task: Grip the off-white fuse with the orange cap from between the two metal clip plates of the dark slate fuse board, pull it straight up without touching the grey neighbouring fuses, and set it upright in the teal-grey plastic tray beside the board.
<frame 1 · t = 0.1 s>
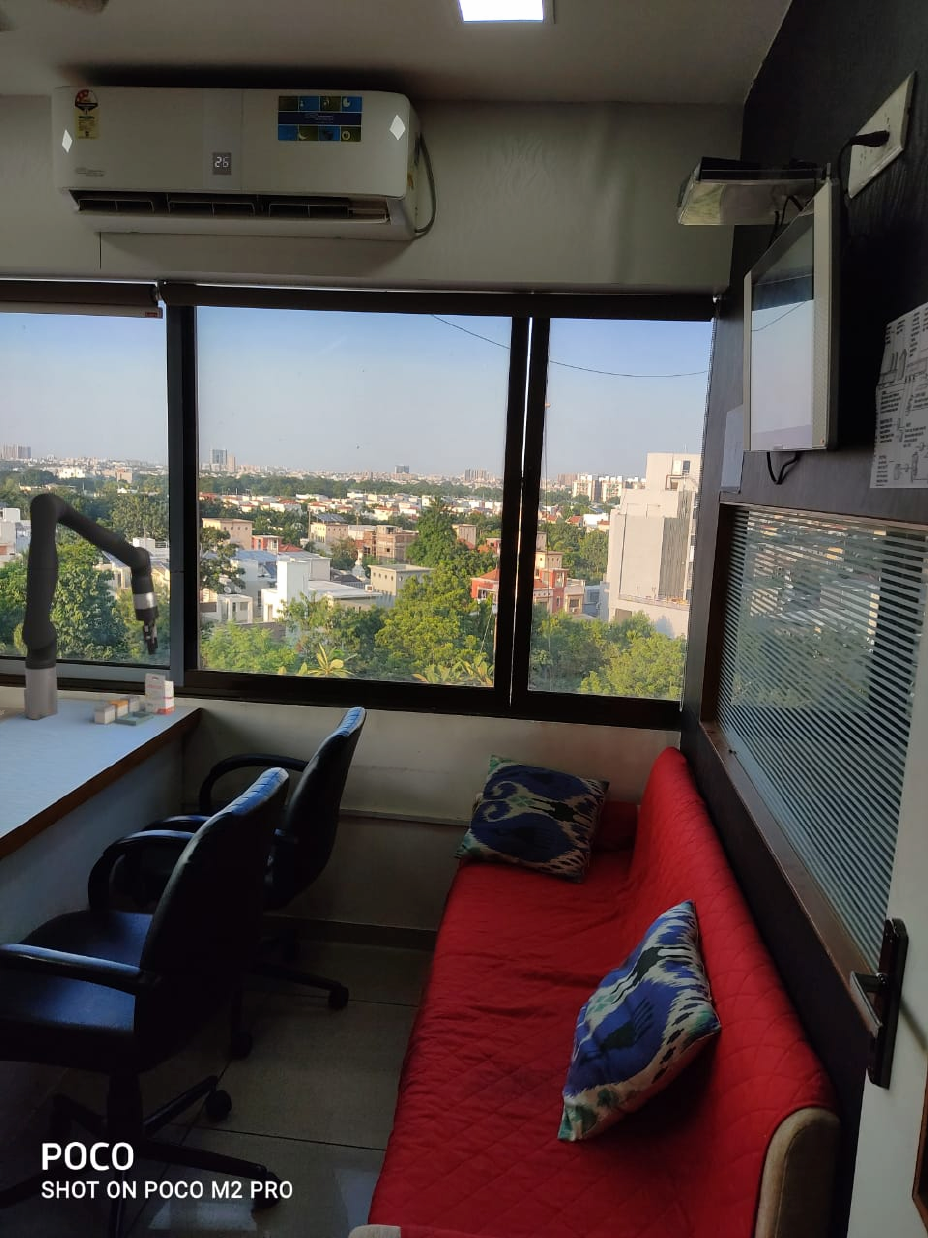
hand: (153, 651, 287), 22 cm above the table, tool pointing down, fingers open, 8 cm apart
tray: (134, 723, 280), on the table
fuse board: (118, 718, 284), on the table
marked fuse: (117, 716, 284), point 1 cm above the table, touching fuse board
ink cartridge box: (159, 714, 292), on the table
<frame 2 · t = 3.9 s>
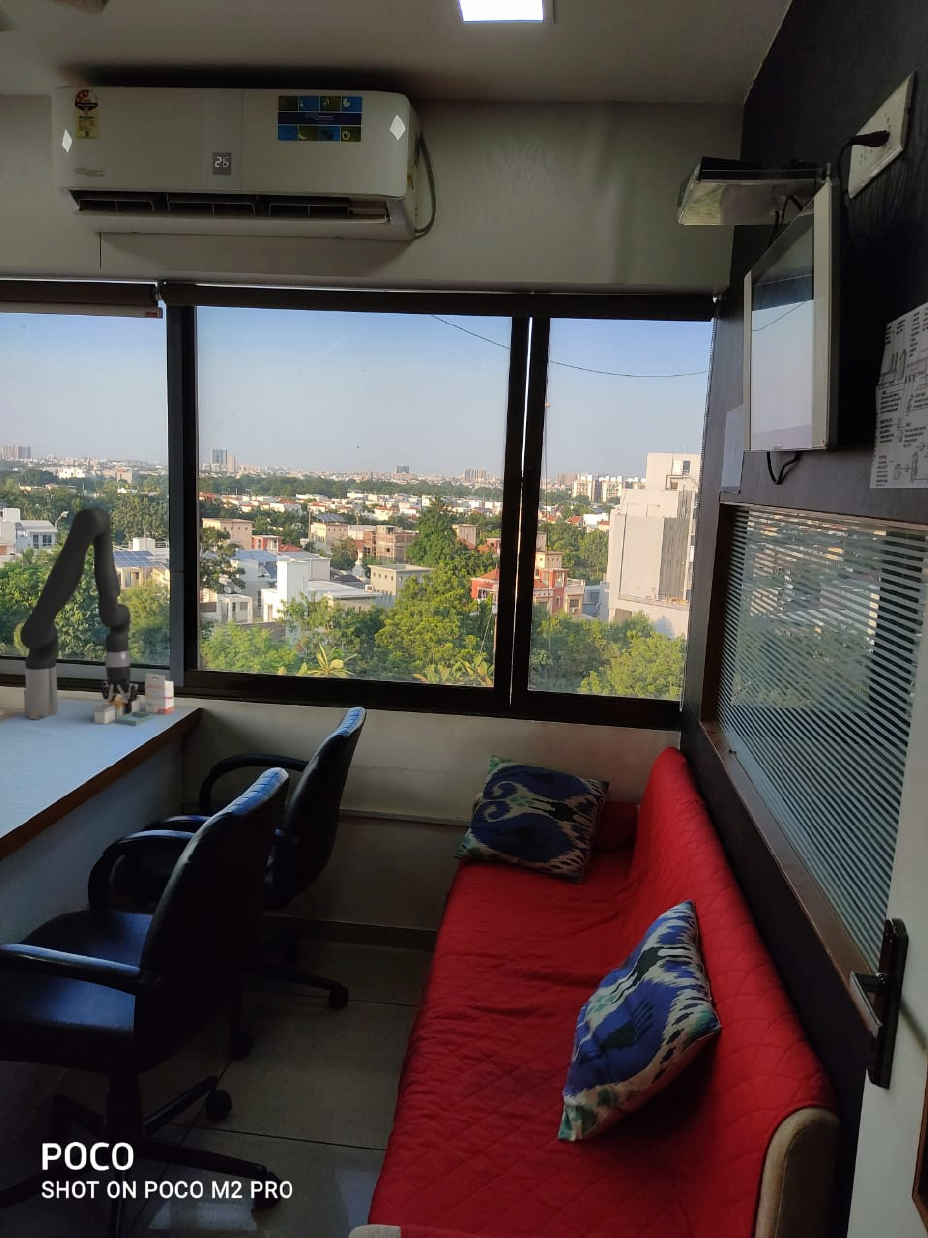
hand: (120, 712, 283), 2 cm above the table, tool pointing down
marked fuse: (119, 716, 284), point 1 cm above the table, touching gripper
everything else where it was.
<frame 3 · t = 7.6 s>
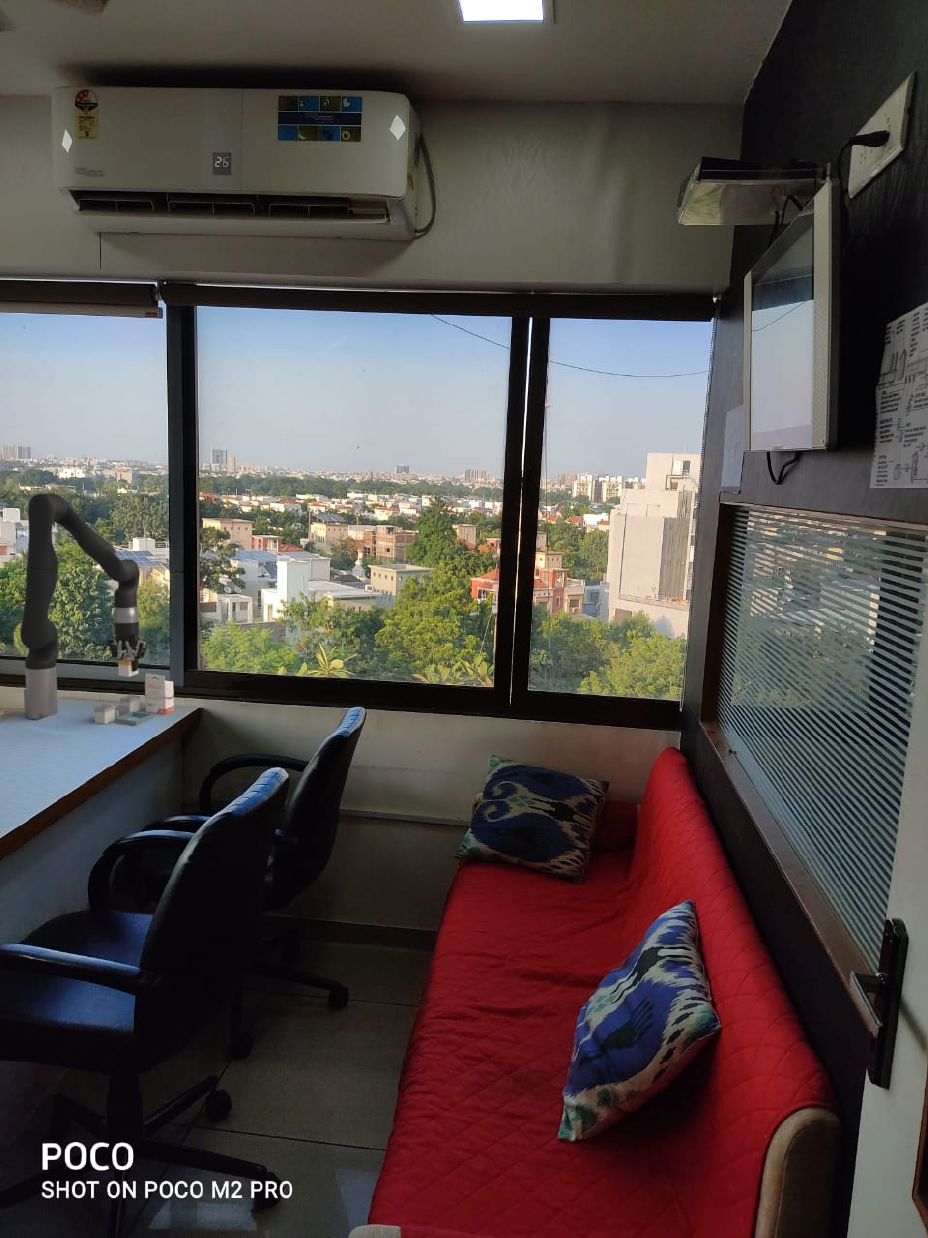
hand: (128, 670, 279), 18 cm above the table, tool pointing down, fingers closed on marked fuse, 4 cm apart
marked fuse: (128, 674, 279), point 16 cm above the table, touching gripper
everything else where it was.
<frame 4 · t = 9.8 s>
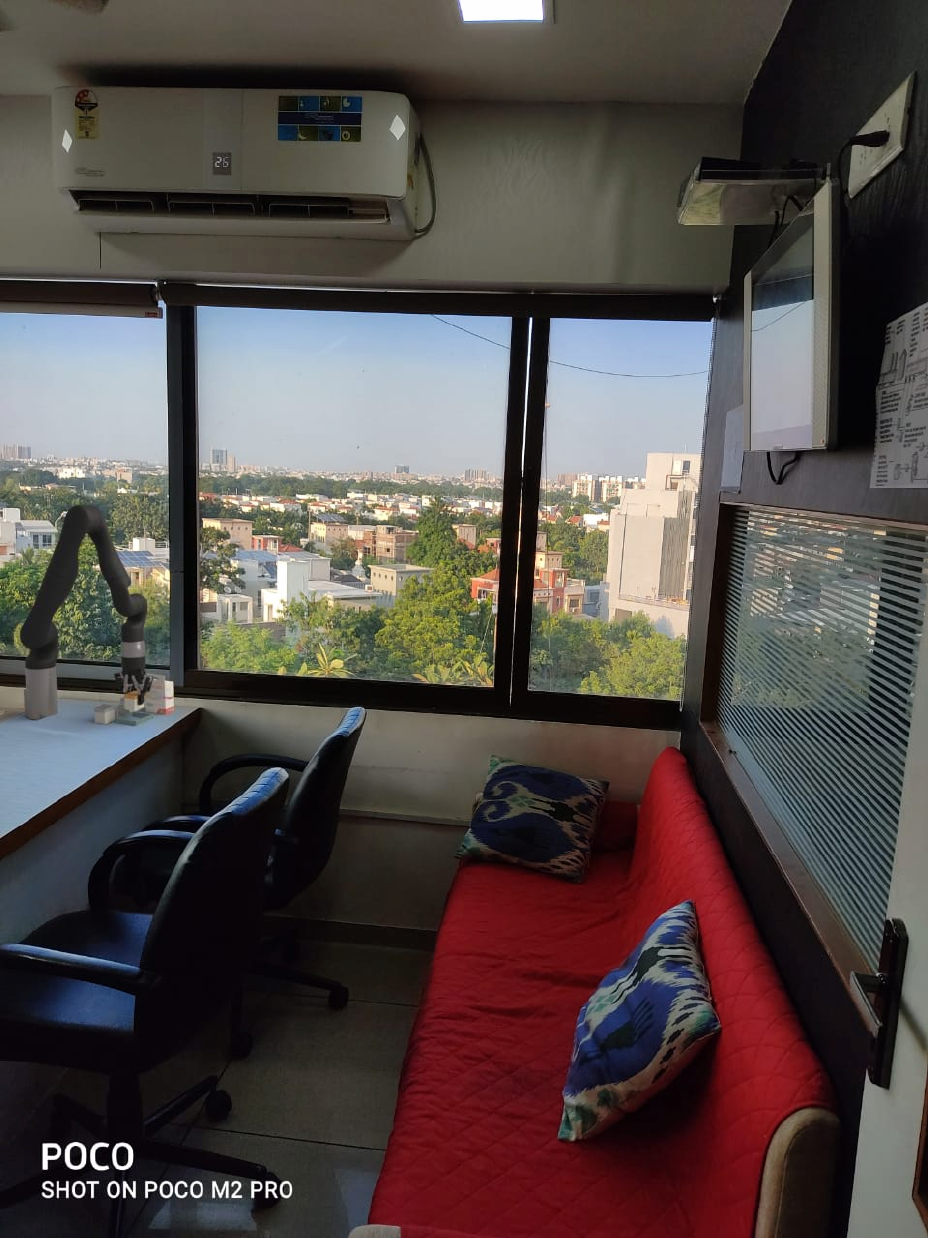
hand: (134, 703, 279), 7 cm above the table, tool pointing down, fingers closed on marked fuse, 4 cm apart
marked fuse: (134, 707, 279), point 5 cm above the table, touching gripper
everything else where it was.
when the fingers open (3 cm above the table, at t = 11.3 s): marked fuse drops 1 cm, resting on tray.
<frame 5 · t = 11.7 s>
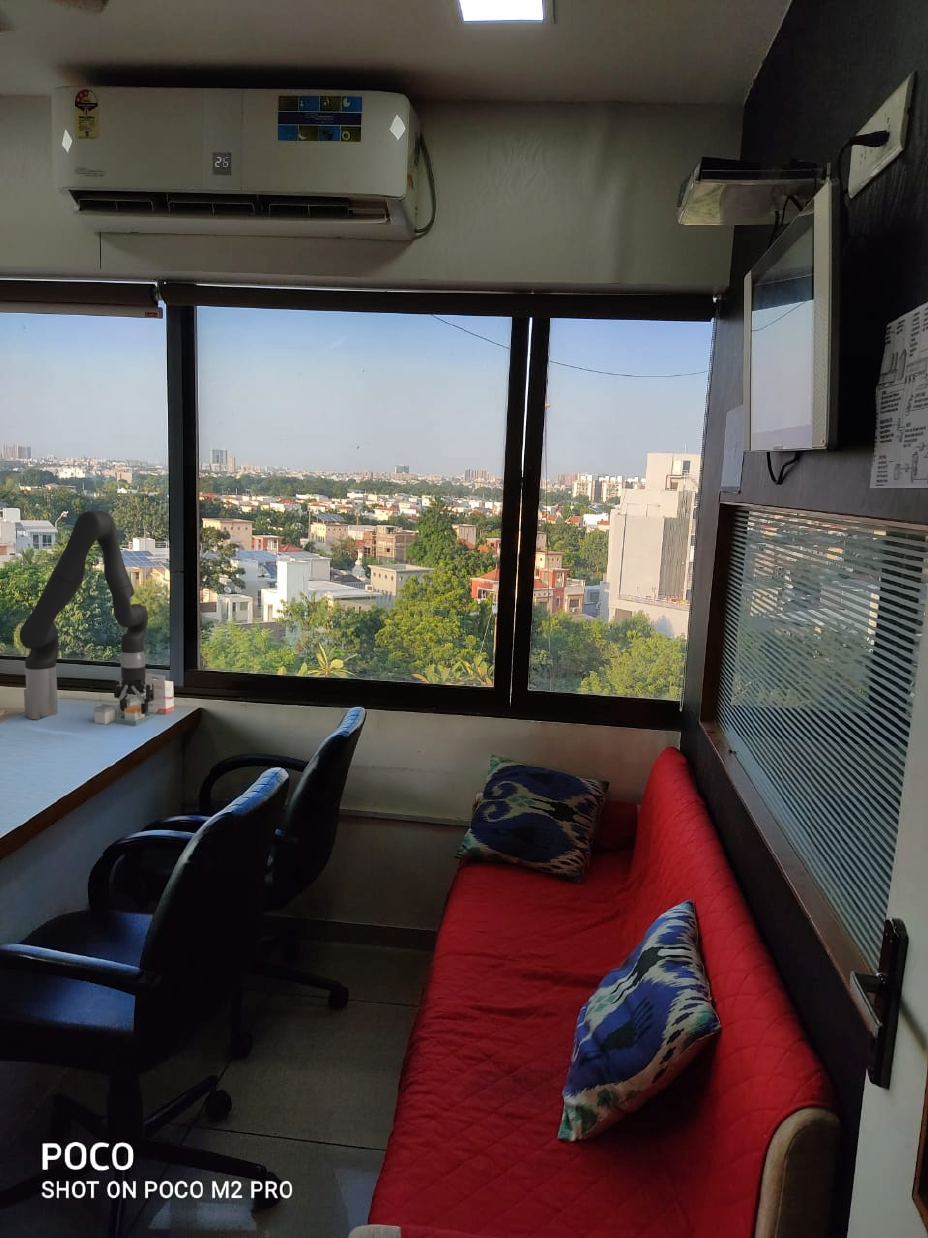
hand: (134, 712, 279), 4 cm above the table, tool pointing down, fingers open, 7 cm apart
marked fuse: (134, 722, 280), resting on tray
everything else where it was.
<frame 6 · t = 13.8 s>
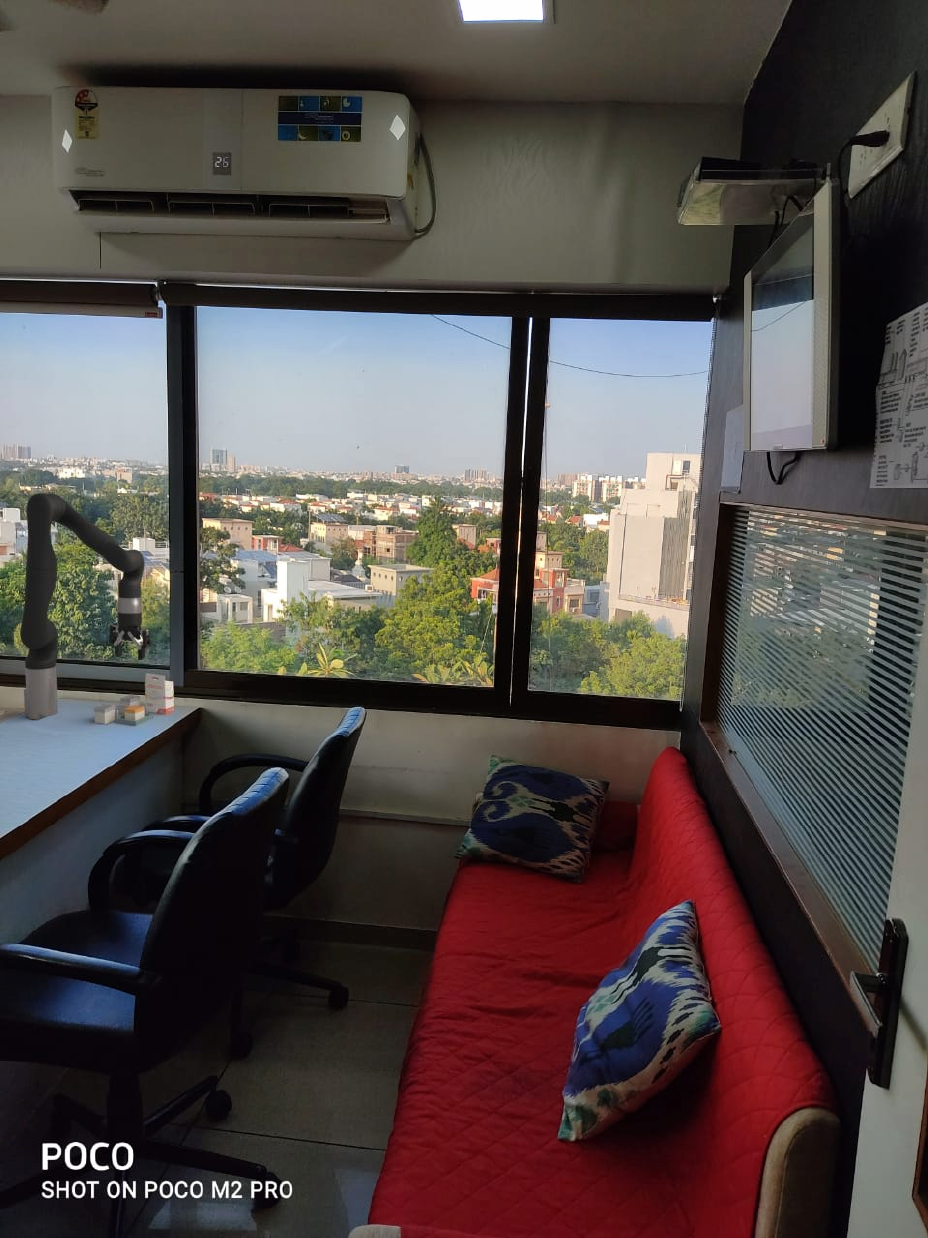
hand: (130, 658, 278), 22 cm above the table, tool pointing down, fingers open, 8 cm apart
nothing on the table moved.
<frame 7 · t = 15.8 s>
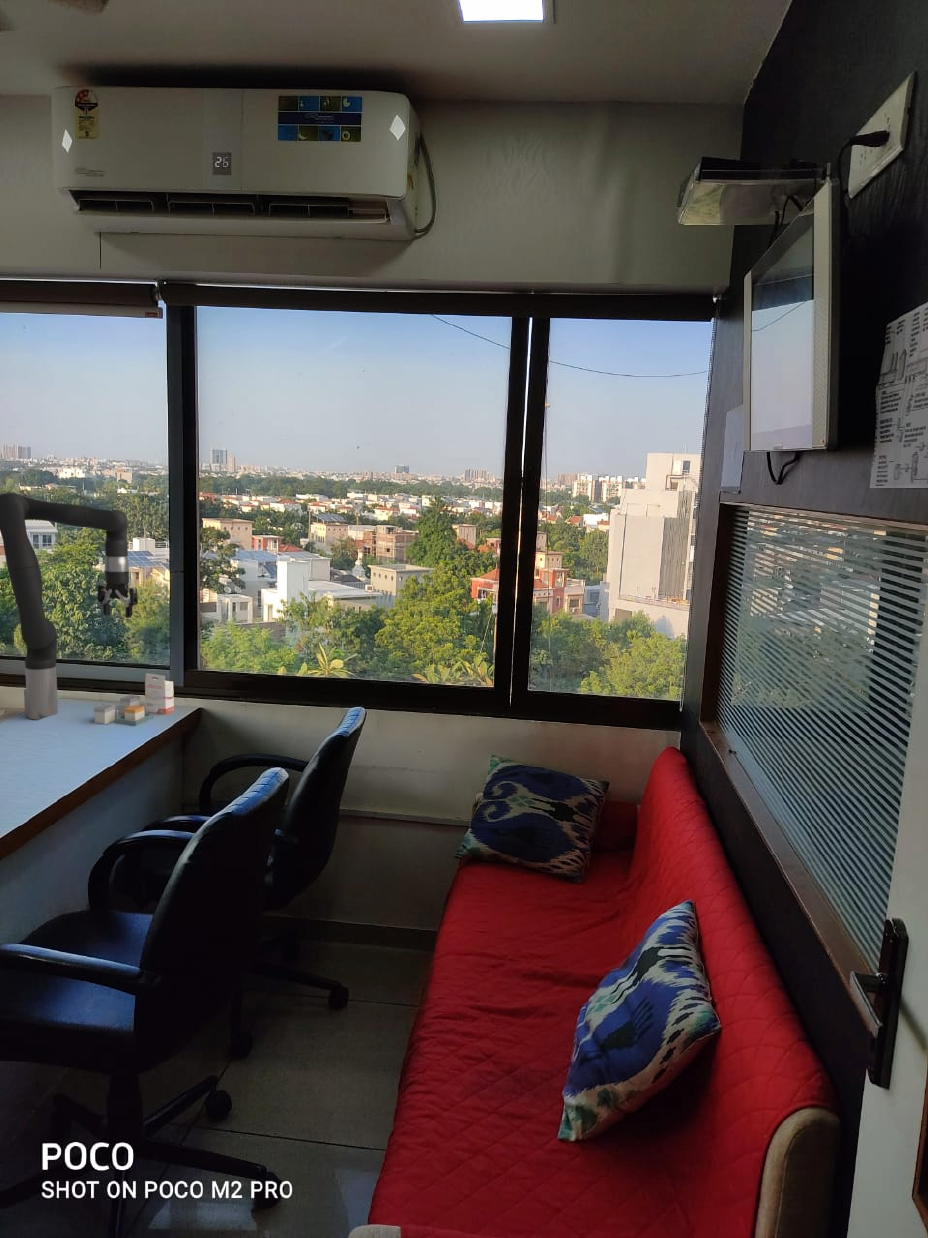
hand: (118, 616, 285), 34 cm above the table, tool pointing down, fingers open, 8 cm apart
nothing on the table moved.
at the end: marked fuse 0.2 cm off-centre on the tray, point 0.5 cm above the tray's base; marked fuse tilted 0°; the gripper is holding nothing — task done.
